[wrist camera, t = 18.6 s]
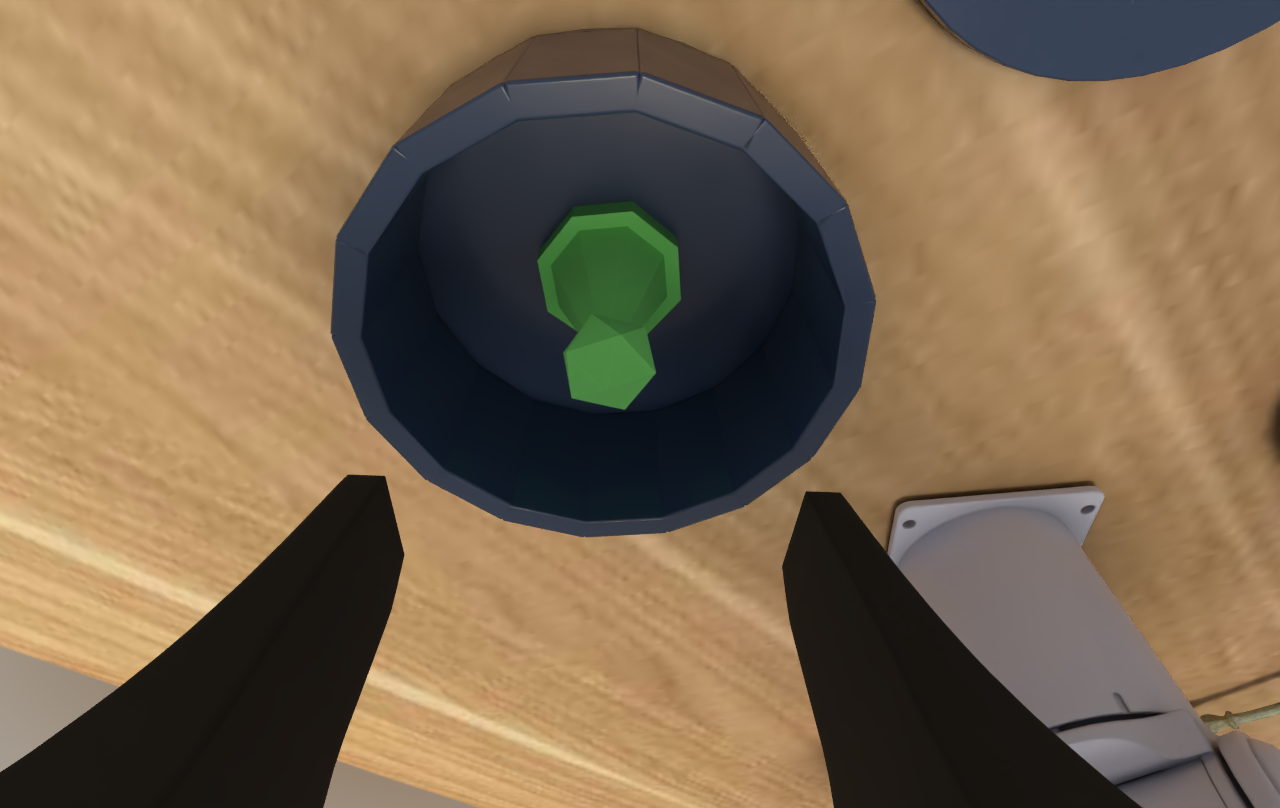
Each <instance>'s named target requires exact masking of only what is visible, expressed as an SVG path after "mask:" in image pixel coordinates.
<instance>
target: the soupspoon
mask: <svg viewBox="0 0 1280 808" xmlns="http://www.w3.org/2000/svg"><path fill="white" fill-rule="evenodd" d="M1278 714H1280V702H1279V703H1276V704H1273V705H1269V706H1265V707H1262V708H1258V709H1255V710H1251V711H1247V712H1243V713H1238V714H1232V713H1231V712H1230V711H1226V713H1225V715H1224V716H1216V715H1210V714H1205V715H1202V716H1201V717H1200V718H1201V720H1202V721H1203V723H1204V724H1205V725H1206V727H1207V728H1209V729H1210V730H1211V731H1212V732H1214V733H1217V732H1220V731H1221V730H1222V729H1224V728H1225V727H1231V728H1233V729H1238V728H1239V724H1242V723H1246V722H1251V721H1255V720H1258V719H1262V718H1266V717H1270V716H1274V715H1278Z"/></svg>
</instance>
